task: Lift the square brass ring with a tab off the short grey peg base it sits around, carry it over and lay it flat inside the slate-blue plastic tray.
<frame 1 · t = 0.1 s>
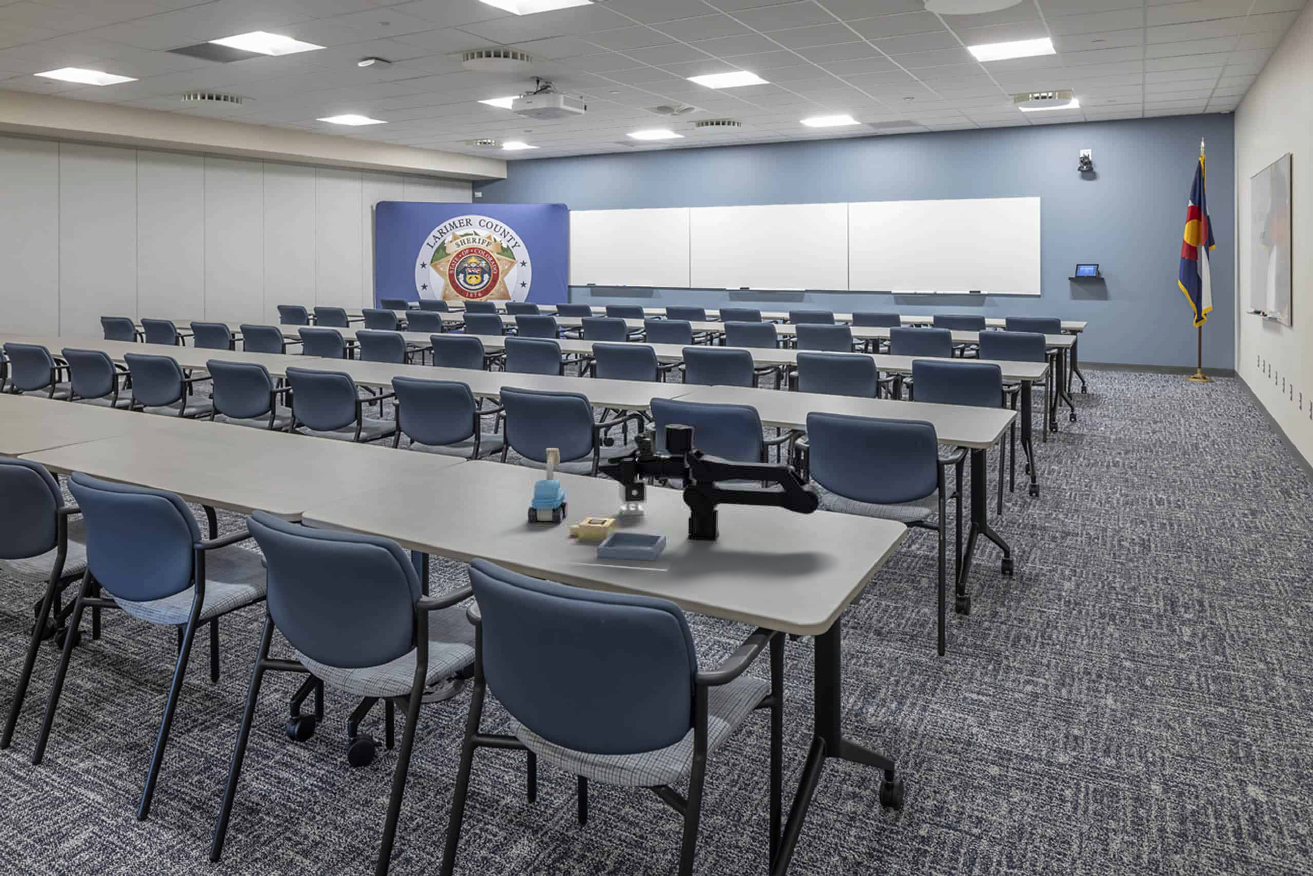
hand: (603, 464, 228), 17 cm above the table, tool horizontal, fingers open, 9 cm apart
security camera: (632, 514, 246), on the table
toy excavator: (550, 517, 242), on the table
grey peg base: (597, 537, 224), on the table
tray: (632, 551, 213), on the table
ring: (597, 535, 224), resting on grey peg base
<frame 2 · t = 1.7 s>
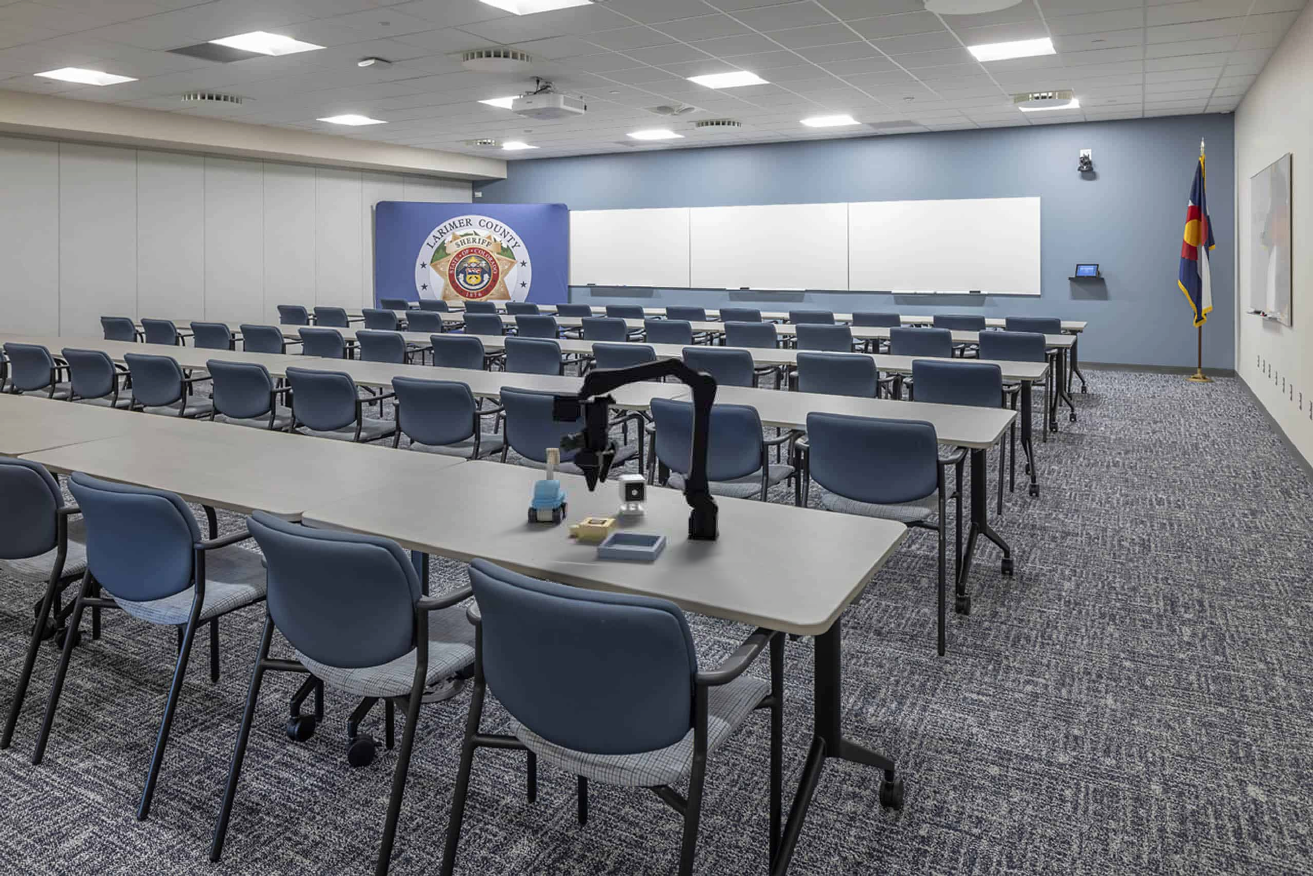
hand: (597, 487, 222), 13 cm above the table, tool pointing down, fingers open, 9 cm apart
nothing on the table moved.
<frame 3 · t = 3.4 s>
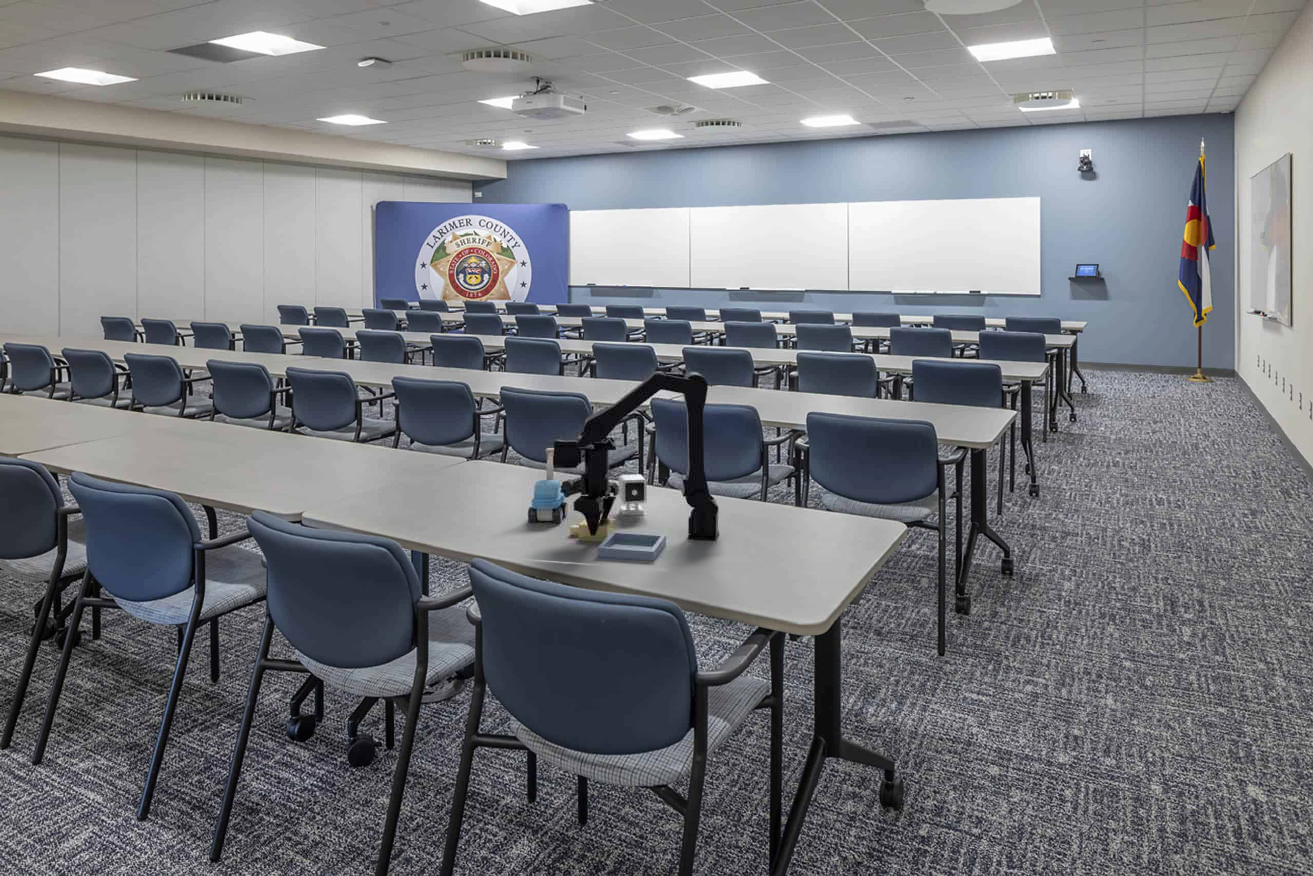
hand: (597, 531, 224), 2 cm above the table, tool pointing down, fingers closed on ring, 7 cm apart
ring: (597, 535, 224), resting on grey peg base, touching gripper
everything else where it was.
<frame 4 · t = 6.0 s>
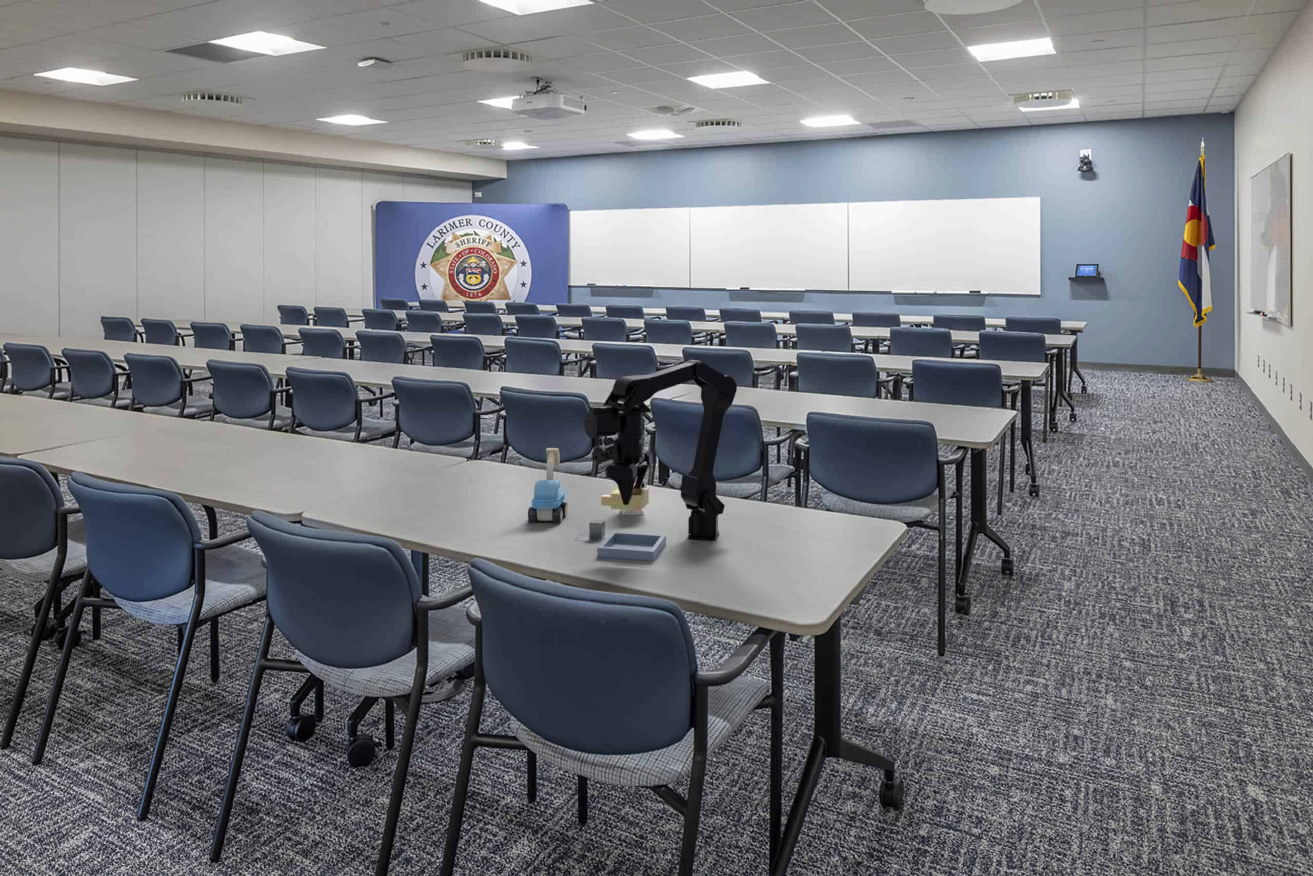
hand: (630, 500, 212), 12 cm above the table, tool pointing down, fingers closed on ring, 7 cm apart
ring: (629, 505, 212), point 11 cm above the table, touching gripper
everything else where it was.
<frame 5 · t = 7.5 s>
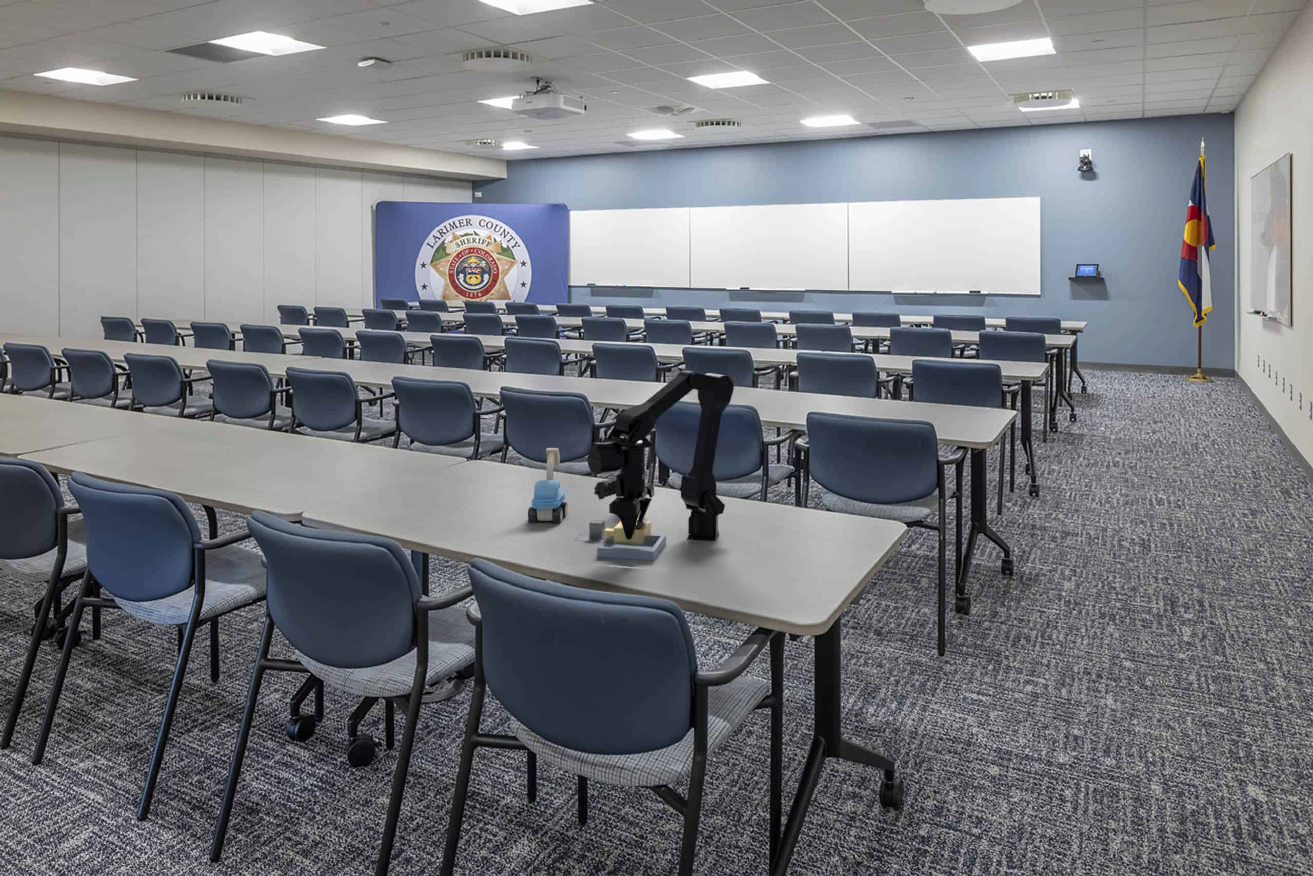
hand: (632, 534, 213), 4 cm above the table, tool pointing down, fingers closed on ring, 7 cm apart
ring: (632, 539, 213), point 3 cm above the table, touching gripper
everything else where it was.
when the fingers open (3 cm above the table, at t = 8.7 s): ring stays where it is, resting on tray.
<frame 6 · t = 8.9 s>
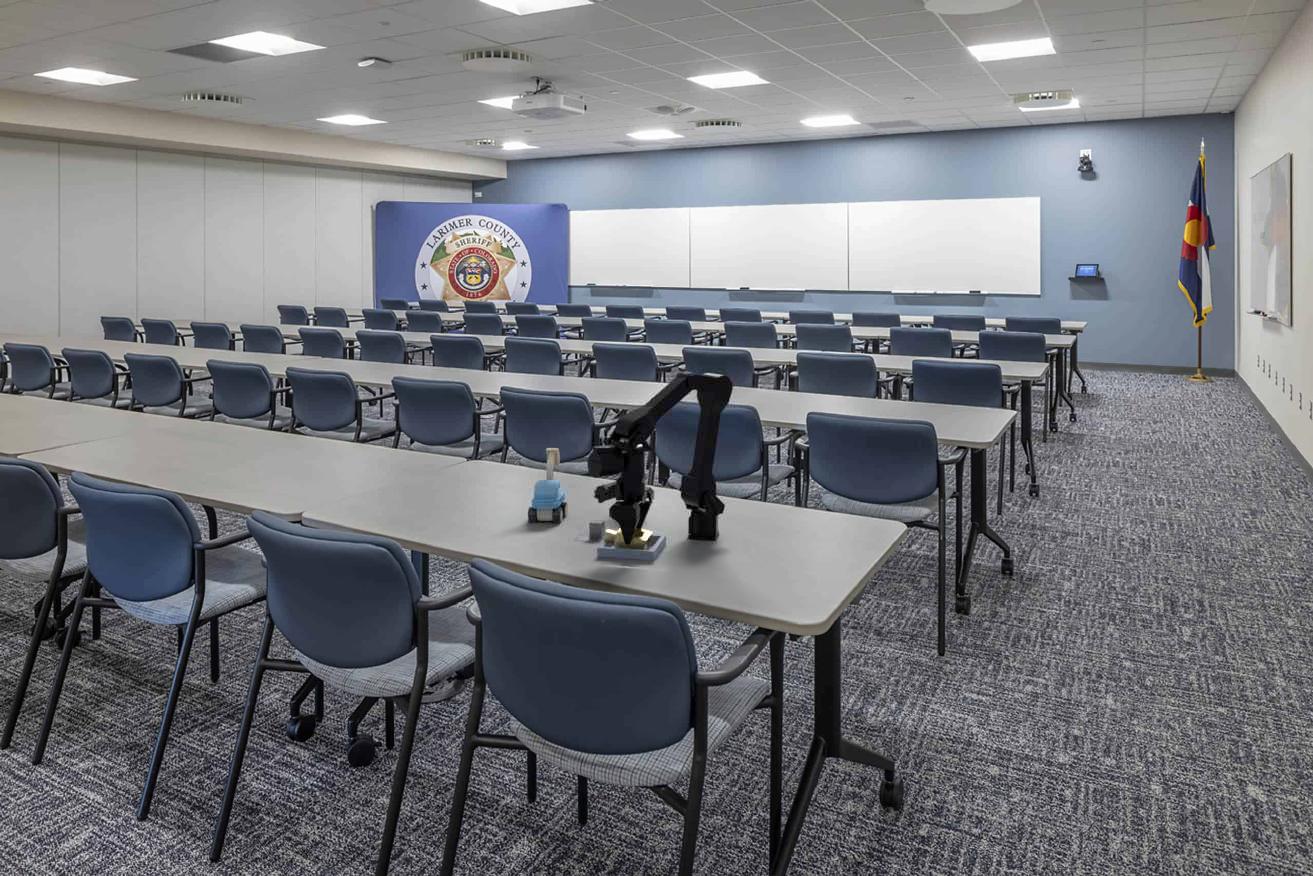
hand: (632, 538, 213), 3 cm above the table, tool pointing down, fingers open, 9 cm apart
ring: (631, 546, 213), point 1 cm above the table, tilted 13°, touching tray
everything else where it was.
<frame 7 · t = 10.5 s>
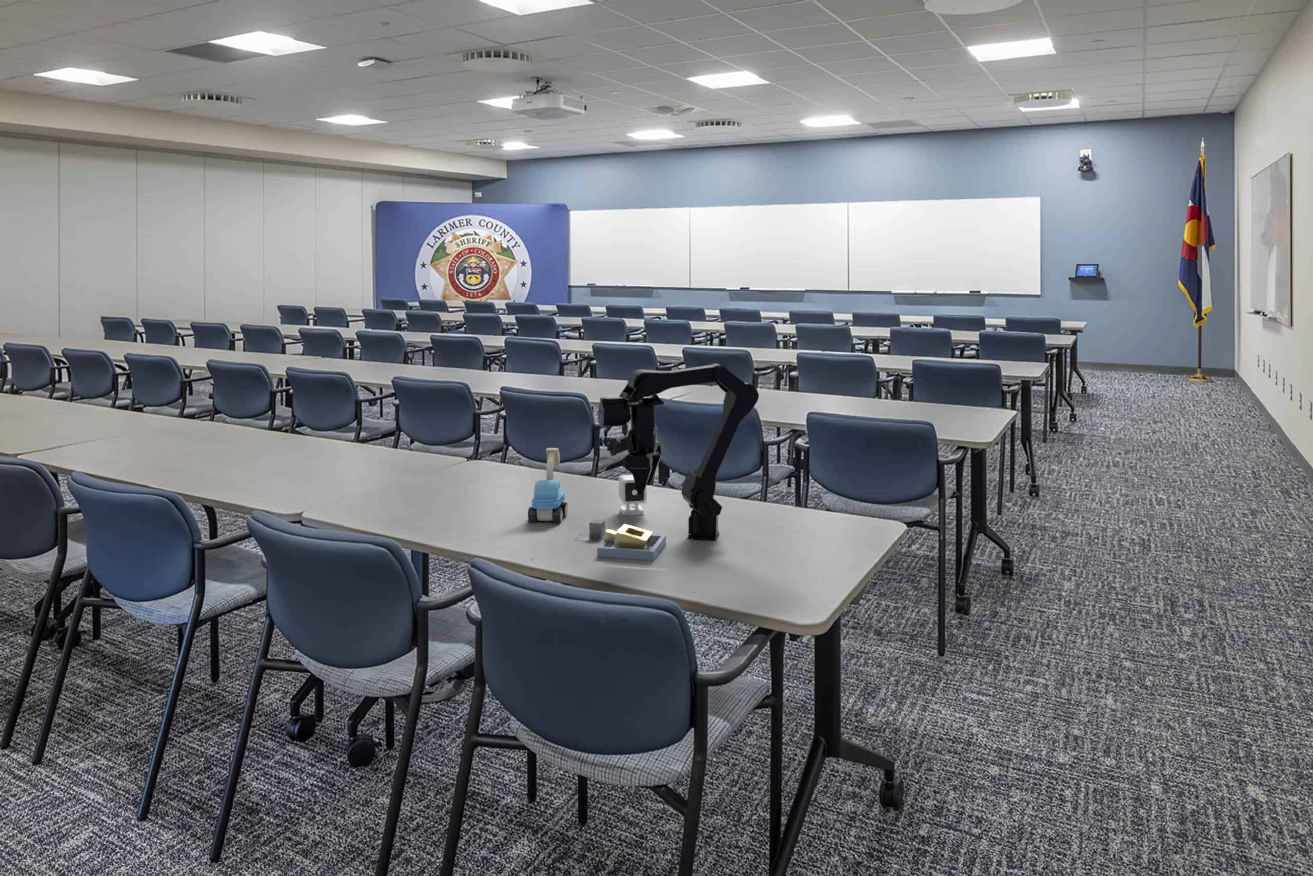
hand: (644, 489, 219), 13 cm above the table, tool pointing down, fingers open, 9 cm apart
nothing on the table moved.
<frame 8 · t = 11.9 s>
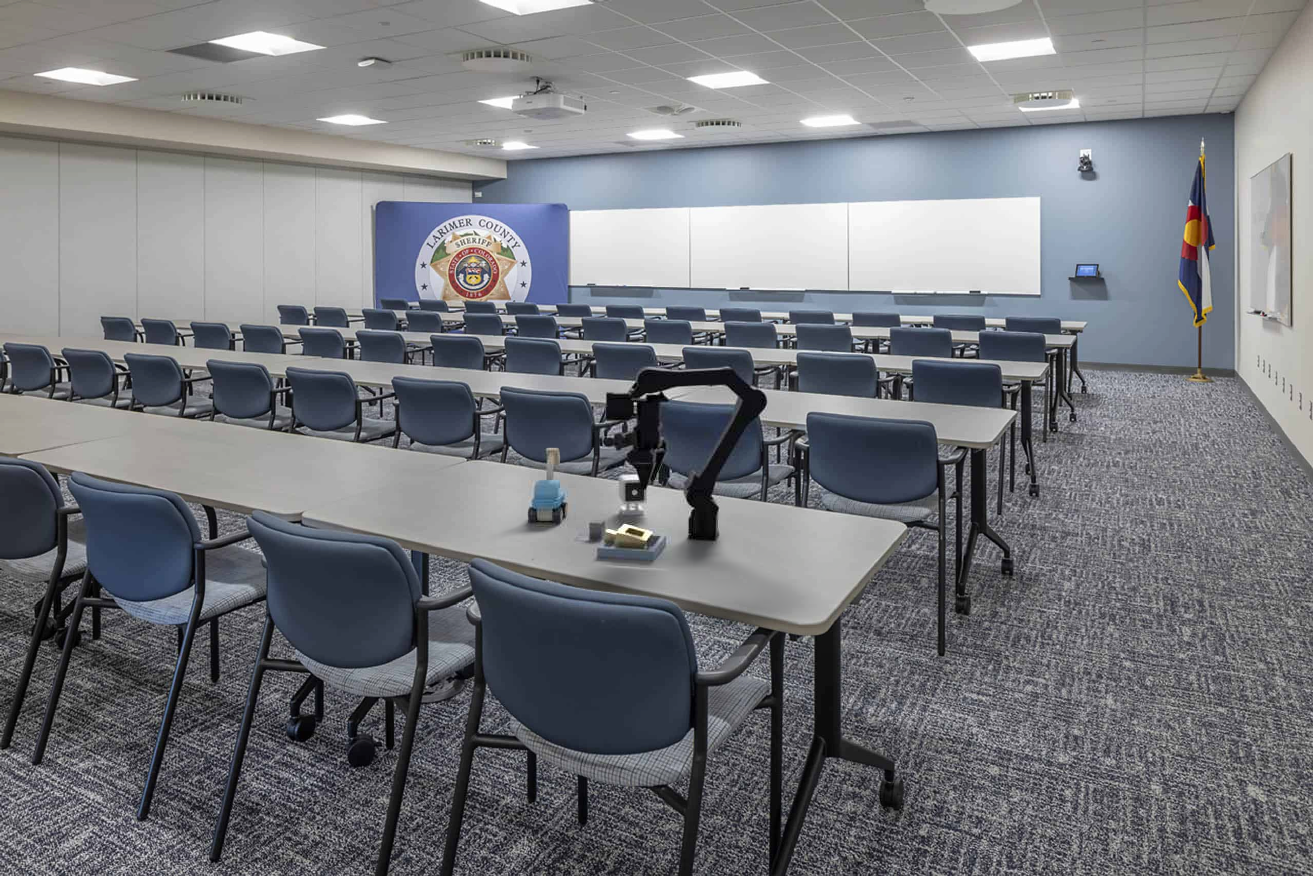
hand: (648, 484, 222), 13 cm above the table, tool pointing down, fingers open, 9 cm apart
nothing on the table moved.
at the end: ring inside the target area on the tray (0.2 cm from its centre), point 1.3 cm above the tray's base; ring tilted 13°; the gripper is holding nothing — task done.
